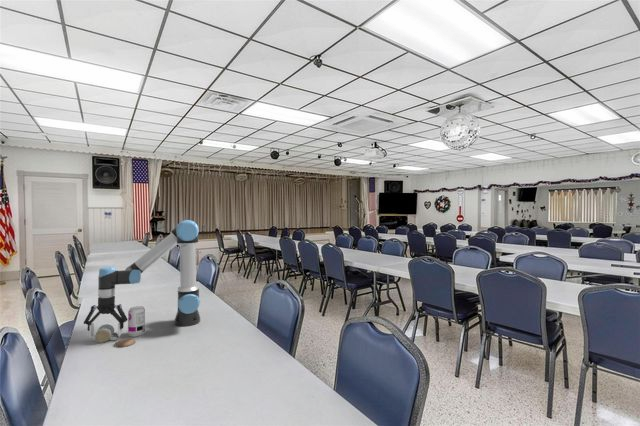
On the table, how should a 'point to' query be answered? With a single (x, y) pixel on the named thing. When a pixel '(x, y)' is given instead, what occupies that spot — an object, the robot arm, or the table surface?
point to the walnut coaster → (125, 343)
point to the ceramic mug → (105, 334)
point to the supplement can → (136, 321)
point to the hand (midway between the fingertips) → (105, 335)
